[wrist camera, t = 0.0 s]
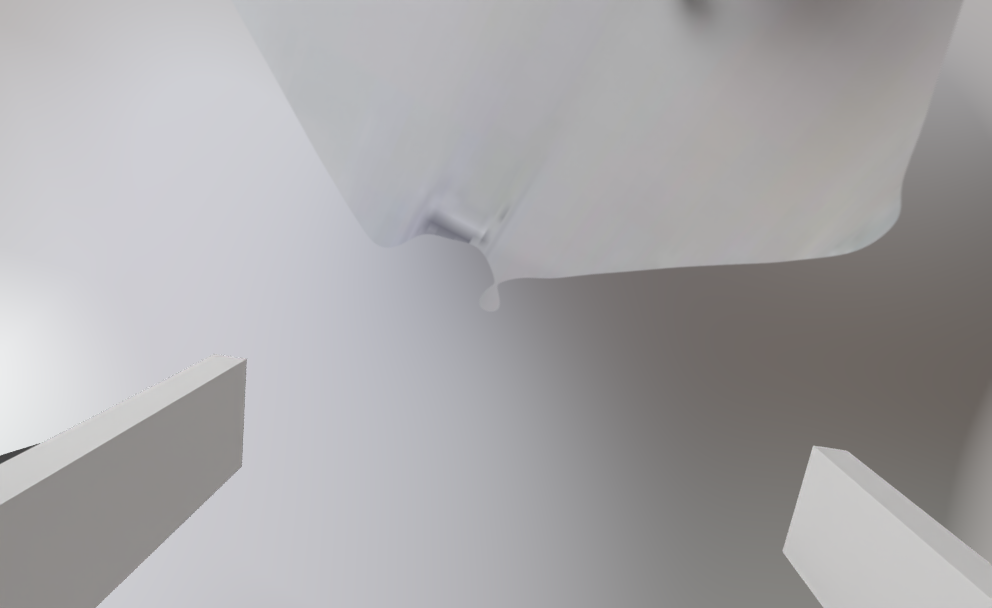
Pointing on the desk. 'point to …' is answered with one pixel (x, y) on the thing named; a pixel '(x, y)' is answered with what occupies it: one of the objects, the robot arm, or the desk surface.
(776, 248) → the desk surface
